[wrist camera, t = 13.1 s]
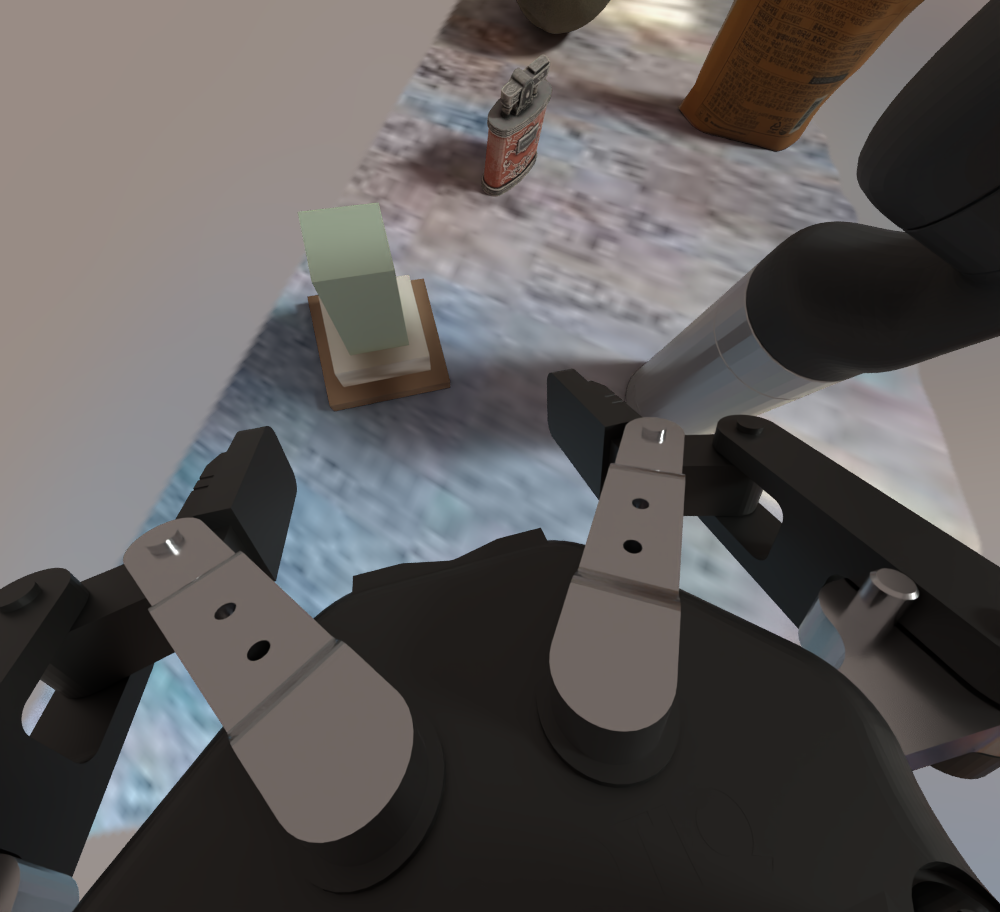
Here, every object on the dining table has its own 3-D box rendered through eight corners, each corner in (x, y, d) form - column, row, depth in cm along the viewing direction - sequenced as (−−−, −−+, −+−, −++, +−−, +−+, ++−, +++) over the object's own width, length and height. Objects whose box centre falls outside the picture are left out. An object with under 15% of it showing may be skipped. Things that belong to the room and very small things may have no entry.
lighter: (497, 202, 45) (511, 108, 35) (474, 183, 45) (481, 84, 35) (542, 161, 46) (567, 60, 37) (519, 142, 47) (538, 38, 37)
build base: (424, 287, 41) (421, 257, 37) (450, 387, 40) (450, 368, 35) (312, 305, 39) (295, 276, 35) (334, 411, 38) (319, 394, 33)
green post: (396, 293, 36) (378, 202, 26) (409, 344, 35) (394, 270, 25) (339, 302, 35) (297, 211, 25) (350, 355, 34) (311, 282, 25)
